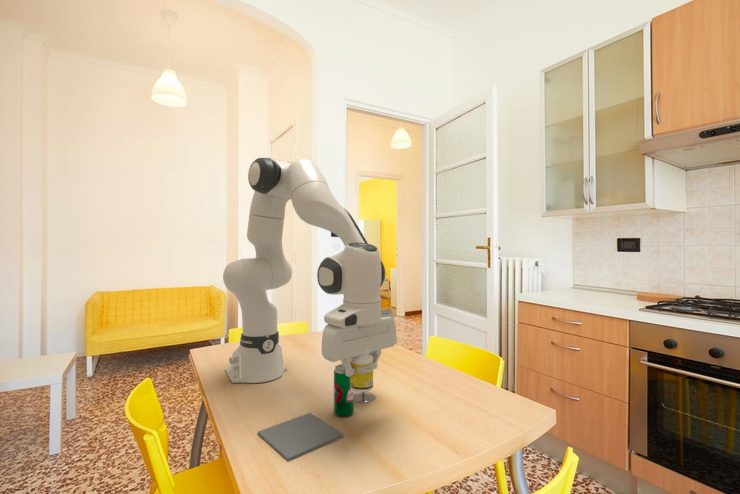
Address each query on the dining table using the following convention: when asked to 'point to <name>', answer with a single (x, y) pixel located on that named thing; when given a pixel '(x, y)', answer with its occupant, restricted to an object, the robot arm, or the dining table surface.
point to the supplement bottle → (362, 372)
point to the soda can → (342, 393)
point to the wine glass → (364, 395)
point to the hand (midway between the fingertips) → (361, 372)
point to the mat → (299, 436)
